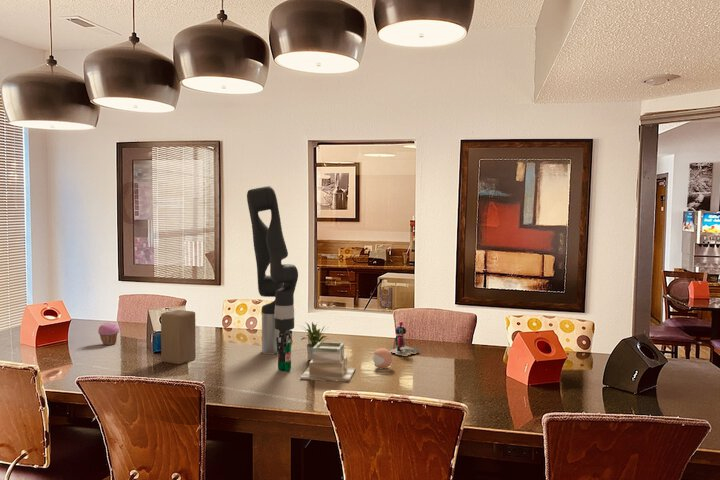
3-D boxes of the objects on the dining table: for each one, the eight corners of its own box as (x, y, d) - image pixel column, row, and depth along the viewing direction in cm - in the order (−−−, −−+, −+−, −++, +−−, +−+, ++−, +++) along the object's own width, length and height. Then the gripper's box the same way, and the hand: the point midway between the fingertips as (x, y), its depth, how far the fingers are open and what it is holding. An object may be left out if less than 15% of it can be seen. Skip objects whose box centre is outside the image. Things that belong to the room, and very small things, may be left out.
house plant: (288, 359, 230) (288, 320, 230) (312, 353, 241) (313, 315, 240) (311, 366, 221) (311, 325, 220) (336, 359, 231) (336, 320, 230)
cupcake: (123, 343, 256) (123, 322, 255) (106, 347, 248) (105, 325, 248) (111, 341, 260) (111, 320, 260) (94, 344, 253) (93, 323, 253)
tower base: (309, 368, 218) (309, 339, 217) (355, 370, 215) (355, 341, 215) (300, 379, 203) (300, 349, 203) (349, 382, 201) (349, 351, 200)
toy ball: (369, 366, 221) (369, 347, 220) (386, 364, 224) (386, 345, 223) (377, 372, 213) (378, 351, 213) (395, 370, 216) (396, 349, 216)
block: (196, 359, 230) (196, 311, 229) (179, 365, 221) (178, 315, 220) (178, 356, 234) (177, 309, 233) (160, 362, 225) (159, 313, 224)
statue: (403, 360, 235) (401, 326, 233) (388, 355, 242) (385, 322, 240) (421, 353, 242) (419, 319, 240) (405, 348, 249) (403, 316, 247)
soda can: (285, 372, 211) (285, 341, 211) (275, 370, 214) (275, 339, 213) (293, 369, 216) (293, 338, 215) (283, 367, 218) (283, 337, 218)
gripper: (280, 312, 221) (280, 354, 222) (269, 319, 207) (269, 364, 208) (298, 313, 220) (298, 355, 221) (289, 320, 206) (288, 365, 207)
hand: (284, 359), depth 215 cm, fingers closed on soda can, 5 cm apart
